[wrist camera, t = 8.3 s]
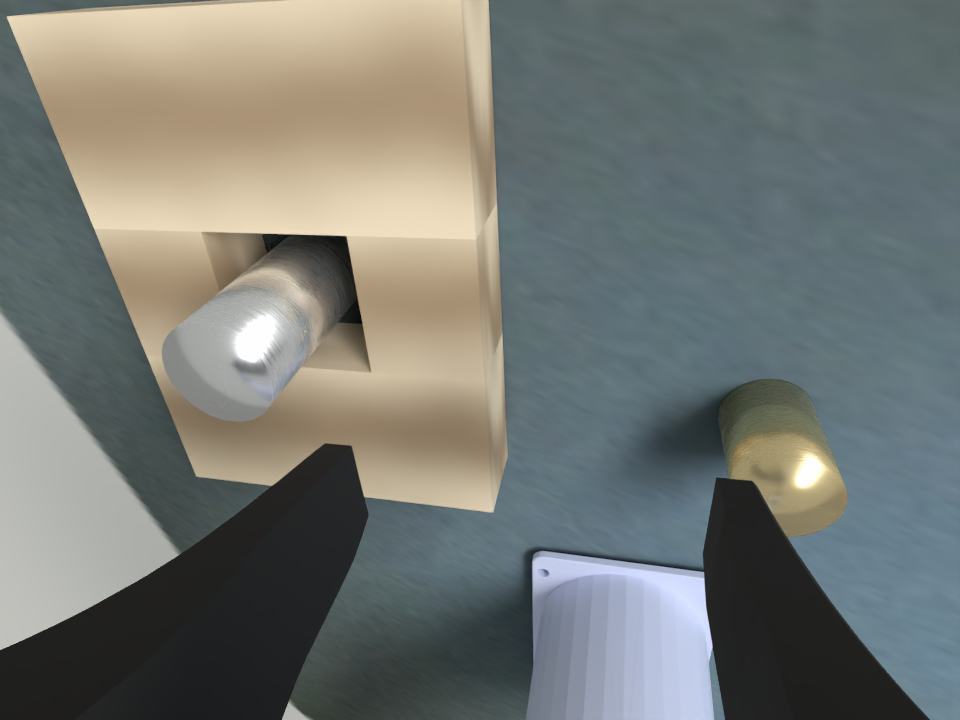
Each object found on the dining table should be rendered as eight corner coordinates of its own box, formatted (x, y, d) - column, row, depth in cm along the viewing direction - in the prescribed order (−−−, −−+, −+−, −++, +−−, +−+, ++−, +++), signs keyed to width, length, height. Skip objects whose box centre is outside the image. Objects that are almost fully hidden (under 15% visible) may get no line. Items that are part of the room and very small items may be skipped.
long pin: (376, 303, 22) (283, 427, 16) (298, 297, 22) (182, 415, 17) (364, 221, 20) (257, 327, 14) (281, 218, 21) (145, 318, 15)
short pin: (802, 453, 21) (832, 542, 18) (712, 444, 22) (725, 530, 19) (824, 382, 20) (860, 467, 17) (725, 375, 20) (742, 456, 17)
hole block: (507, 456, 24) (492, 512, 22) (236, 428, 27) (196, 476, 24) (487, -16, 16) (460, -10, 13) (91, 8, 18) (6, 16, 16)
